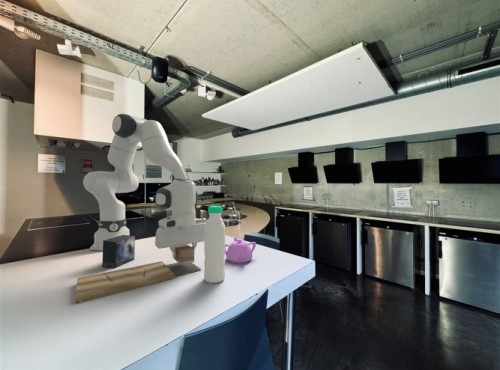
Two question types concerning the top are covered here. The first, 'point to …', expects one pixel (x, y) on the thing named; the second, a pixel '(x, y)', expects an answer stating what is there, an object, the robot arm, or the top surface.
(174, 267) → the rubber mat
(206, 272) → the water bottle
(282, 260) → the top surface
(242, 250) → the teapot
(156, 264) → the oak board
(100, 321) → the top surface
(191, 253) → the block
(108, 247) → the small box
